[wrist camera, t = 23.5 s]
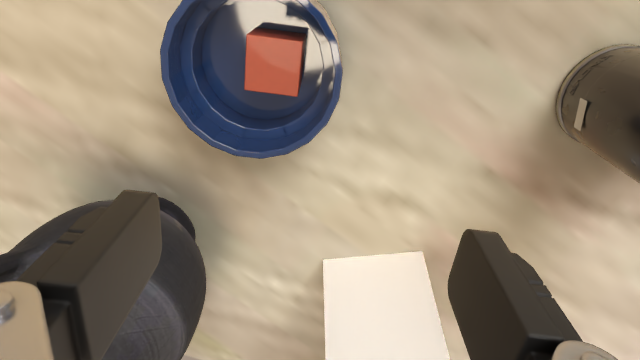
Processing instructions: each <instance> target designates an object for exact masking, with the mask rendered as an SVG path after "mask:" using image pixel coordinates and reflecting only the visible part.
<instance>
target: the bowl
mask: <svg viewBox="0 0 640 360" xmlns="http://www.w3.org/2000/svg"><path fill="white" fill-rule="evenodd" d="M256 27H258V28H265V29H273V30H280V31H288V32H295V33H303V34H306V43H305V52H304V62H303V72H302V81H301V86H300V90H299V93H298V96H297V97H295V96H287V95H279V94H271V93H263V92H256V91H248V90H244V82H245V57H246V35H247V34H248V33H249V32H251V31H252V30H253V29H255V28H256ZM160 55H161V72H162V80H163V83H164V86H165V88H166V91H167V94H168V96H169V99H170V102H171V104H172V106H173V108H174V109H175V111H176V112H177V113H178V115H179V116H180V117H181V119H182V120H183V121H184V123H185V124H186V125H187V127H188V128H189V129H190V130H191V131H193V132H194V133H195V134H196V135H198V136H199V137H200V138H202V139H203V140H204V141H205V142H207V143H208V144H209V145H211V146H213V147H215V148H218V149H220V150H223V151H225V152H227V153H230V154H232V155H236V156H241V157H250V158H259V159H261V158H262V159H263V158H268V157H274V156H279V155H285V154H288V153H290V152H292V151H294V150H296V149H298V148H300V147H301V146H303V145H305V144H307V143H309V142H310V141H311V140H312V139H313V138H314V137H315V136H316V135H317V134H318V133H319V132H320V131H321V130H322V129H323V128H324V127H325V126H326V125H327V123H328V121H329V119H330V117H331V115H332V113H333V111H334V109H335V107H336V105H337V103H338V101H339V96H340V88H341V81H342V74H343V70H342V59H341V52H340V47H339V41H338V36H337V32H336V29H335V28H334V26H333V24H332V22H331V20H330V18H329V16H328V14H327V12H326V10H325V9H324V7H323V6H322V5H321V4H320V3H319V2H318V1H317V0H182V2H181V3H180V5H179V6H178V8H177V9H176V10H175V12H174V13H173V15H172V16H171V18H170V19H169V21H168V22H167V26H166V30H165V33H164V37H163V41H162V45H161V49H160Z"/></svg>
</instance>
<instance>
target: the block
mask: <svg viewBox="0 0 640 360" xmlns="http://www.w3.org/2000/svg"><path fill="white" fill-rule="evenodd" d="M305 43H306V34H303V33H295V32H288V31H280V30H273V29H265V28H258V27H256V28H255V29H253V30H252V31H251V32H249V33H248V34H247V35H246V57H245V82H244V90H248V91H256V92H263V93H271V94H279V95H287V96H295V97H297V96H298V93H299V90H300V86H301V81H302V72H303V62H304V52H305Z"/></svg>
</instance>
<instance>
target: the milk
mask: <svg viewBox="0 0 640 360" xmlns="http://www.w3.org/2000/svg"><path fill="white" fill-rule="evenodd" d="M323 281H324V317H325V352H326V360H450V357H449V353H448V349H447V345H446V341H445V337H444V334H443V330H442V326H441V322H440V318H439V314H438V310H437V306H436V302H435V298H434V294H433V291H432V287H431V283H430V279H429V275H428V271H427V267H426V263H425V259H424V255H423V251H416V252H404V253H393V254H381V255H369V256H358V257H346V258H335V259H323Z"/></svg>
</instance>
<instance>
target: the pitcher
mask: <svg viewBox="0 0 640 360" xmlns="http://www.w3.org/2000/svg"><path fill="white" fill-rule="evenodd" d="M158 198H159V206H160V221H161V235H162V251H161V256H160V260H159V263H158V265H157V267H156V269H155V271H154V272H153V274H152V276H151V277H150V279H149V281H148V283H147V284H146V286H145V288H144V289H143V291H142V293H141V294H140V296H139V298H138V299H137V301H136V303H135V304H134V306H133V308H132V309H131V311H130V313H129V314H128V316H127V318H126V319H125V321H124V323H123V324H122V326H121V328H120V330H119V331H118V333H117V335H116V336H115V338H114V340H113V341H112V343H111V345H110V346H109V348H108V350H107V351H106V353H105V355H104V356H103V358H102V360H181V358H182V357H183V355H184V353H185V352H186V350H187V348H188V346H189V343H190V341H191V339H192V337H193V334H194V332H195V330H196V327H197V324H198V322H199V318H200V315H201V312H202V309H203V305H204V300H205V294H206V273H205V267H204V263H203V258H202V256H201V253H200V251H199V248H198V246H197V245H196V243H195V230H194V227H193V225H192V222H191V220H190V219H189V217H188V216H187V215H186V214H185V213H184V212H183V211H182V210H181V209H180V208H179V207H178V206H177V205H175V204H174V203H172V202H170V201H168V200H166V199H164V198H160V197H158ZM113 201H114V200H109V201H98V202H94V203H89V204H86V205H84V206H81V207H78V208H75V209H72V210H70V211H68V212H66V213H64V214H62V215H60V216H58V217H56V218H54V219H52V220H51V221H49V222H47V223H46V224H44V225H43V226H41V227H39V228H38V229H36V230H35V231H33V232H32V233H31V234H30V235H28V236H27V237H26V238H24V239H23V240H22V241H21V242H20V243H18V244H17V245H16V246H15V247H14V248H13V249H11V250H10V251H9V252H8V253H5V254H2V255H0V283H2V282H12V281H15V280H16V279H17V278H18V277H19V276H20V275H21V274H22V273H24V272H25V271H26V270H27V269H28V268H29V267H30V266H31V265H32V264H33V263H34V262H35V261H36V260H37V259H38V258H39V257H40V256H41V255H42V254H43V253H44V252H45V251H46V250H47V249H48V248H49V247H50V246H51V245H52V244H53V243H56V242H57V239H58V238H59V237H60V236H61V235H63V234H64V233H65V232H68V229H69V228H70V227H71V226H72V225H73V224H74V223H75V222H76V221H77V220H78V219H79V218H80V217H81V216H83V215H85V214H87V213H89V212H91V211H93V210H95V209H97V208H99V207H100V206H101V207H108V206H109V205H110V204H111V203H112V202H113Z"/></svg>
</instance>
